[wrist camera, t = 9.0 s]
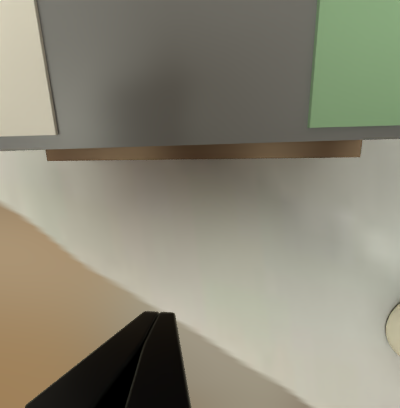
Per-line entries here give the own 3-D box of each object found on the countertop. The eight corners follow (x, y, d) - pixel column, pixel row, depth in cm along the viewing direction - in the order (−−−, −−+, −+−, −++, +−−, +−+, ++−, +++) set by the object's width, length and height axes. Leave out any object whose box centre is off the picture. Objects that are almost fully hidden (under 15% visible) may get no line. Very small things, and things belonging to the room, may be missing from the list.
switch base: (349, -25, 15) (417, -109, 9) (331, 149, 17) (376, 161, 12) (62, -2, 16) (-18, -62, 11) (84, 152, 19) (26, 165, 14)
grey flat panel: (413, -53, 11) (469, -95, 9) (384, 135, 13) (424, 138, 11) (-82, -57, 10) (-155, -107, 8) (-31, 148, 12) (-78, 153, 10)
